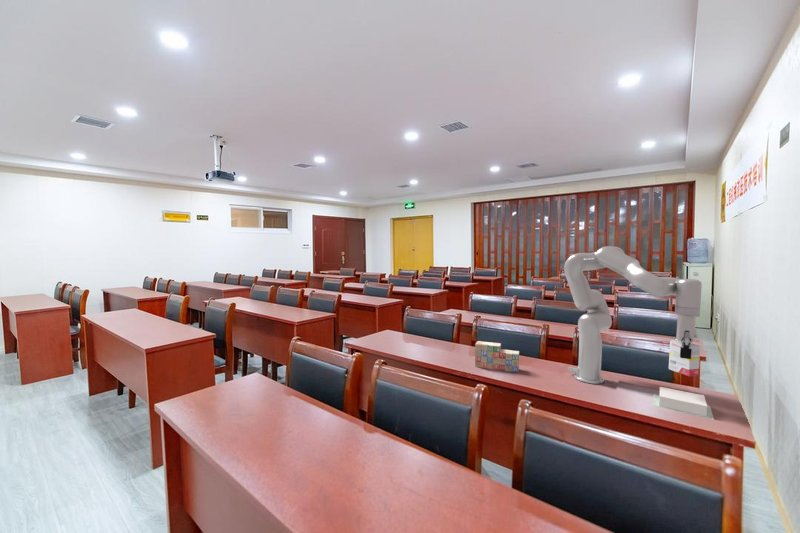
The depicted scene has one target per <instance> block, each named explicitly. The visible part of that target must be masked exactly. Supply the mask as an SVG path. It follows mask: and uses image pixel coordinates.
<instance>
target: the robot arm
mask: <svg viewBox="0 0 800 533" xmlns="http://www.w3.org/2000/svg"><path fill="white" fill-rule="evenodd" d="M640 264H641V263H640V261H639V260H638V259H636V258H634V257H632V256H630V255H627V254H626V253H625V251H624V250H623V249H622V247H621V248H620V247H618V246H611V245H609V246H608V245H606V246H602V247H600V248H599V249H597V251H593V252H576V253H574V254H572V255H571V256H569V257H567V259H566V260H565V263H564V266H563V271H564V275H565V278H566V280H567V283H568V287H569V292H570V294H571V296H572V297H571V298H572V299H573V303H574V305H575V307H576V308H577V309H578V310H579V311H588V312H587V313H584V314H582V315H581V316H580V317H579V318H578V320H577V327H578V328H577V329H578V336H579V339H578V360H577V361H578V363H577V364H578V365H577V366H576V367H574V366H569V365H568V368H567V370H568V371H569V372H571V373H574V374H573V377H574V379H576V380H578V381H580V382H583V383H587V384H593V385H594V384H595V385H596V384H603V383H605V377H603V376H601V375H602V374H601V373H602V358H603V356H602V355H603V354H602V353H603V351H602V350H603V340H602V339H603V338H602V335H601V334H602V333H601V332H605V331H607V330H609V329H610V328H611V327H612V324H613V320H612V315H611V312H610V309H609V307H608V304H607V301H606V299H605V296H604V295H603V293H602V292H601V291H599V290H596V289H591V286H590V284H589V281H588V278H587V277H586V276H585V274H584V271H596V270H600V269H605V268H608V269H609V270H611V271H613V272H615V273H617V274H618V275H620V276H622V277H624V278H626V280H627V281H629V282H630V283H631V284H632V285H634V286H635V287H637V288H638V289H639V290H642V291H644V292H645V293H646V294H648V295H649V294H650V295H651V296H654V297H658V298H661V297H670V296H675V303H674V304H675V306H674V315H677V318H676V319H677V320H676V322H677V323H676V333H675V334H676V336H675V337H676V340H678V341H679V340H682V347H681V348H680V357H681V358H685V359H691V350H692V349H691V343H692V344H693V342H694V340H695V339H694V338H695V331H696V318H698V317H701V301H702V286H703V285H702V281H701V280H699V279H693V278H692V279H691V278H677V277H672V276H661V277H660V276H657V275H656V274H653V273H651V272H649V271H648V270H646V269H645V268H643V267H642V266H641V265H640ZM683 344H684V345H683Z"/></svg>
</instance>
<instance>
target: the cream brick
mask: <svg viewBox="0 0 800 533" xmlns="http://www.w3.org/2000/svg"><path fill="white" fill-rule="evenodd" d="M658 395H659V406H660V407H664V408H669V409H673V410H678V411H682V412H687V413H691V414H695V415H700V416H704V417H707V405H708V404H707V401H706V397H705V395H704V394H697V393H694V392H693V393H692V392H687V391H683V390H679V389H678V390H677V389H674V388H669V387H663V386H659V394H658ZM660 407H659V408H660ZM664 408H663V409H664ZM673 410H672V411H673ZM682 412H681V413H682ZM691 414H690V415H691ZM695 415H694V416H695ZM704 417H703V418H704Z"/></svg>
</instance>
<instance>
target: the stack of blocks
mask: <svg viewBox="0 0 800 533" xmlns="http://www.w3.org/2000/svg"><path fill="white" fill-rule="evenodd" d="M474 348H475V349H474V350H475V352H474V356H475V358H474V361H475V362H474V367H475V368H480V369H489V370H494V371H495V370H497V371H502V372H503V371H505V372H512V373H519V371H520V370H519V369H520V364H519V362H520V351H519V350H510V349H503V348H502V343H500V342H491V341H490V342H489V341H481V340H478V341H476V342H475V347H474Z"/></svg>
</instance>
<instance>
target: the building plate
mask: <svg viewBox="0 0 800 533" xmlns="http://www.w3.org/2000/svg"><path fill="white" fill-rule="evenodd" d="M652 407H656V408H660V409H665V410H669V411H673V412H678V413H681V414H683V413H684V414H687V415H691V416H695V417H700V418H705V419H708V420H713V421H714V420H715V418H714V415H713V412H712V408H711V405H708V404H707V417H704V416H700V415H695V414H691V413H687V412H682V411H678V410H673V409H669V408H664V407H660V406H659V394H655V393H653V397H652Z"/></svg>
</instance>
